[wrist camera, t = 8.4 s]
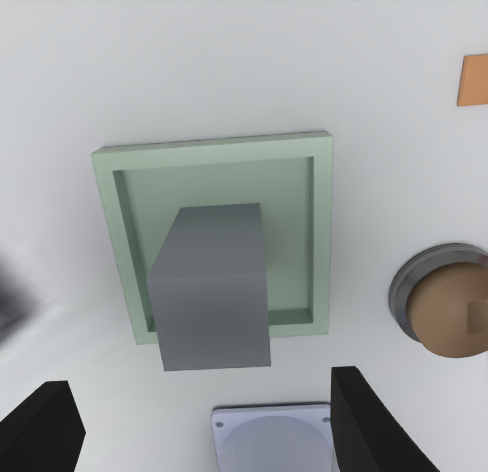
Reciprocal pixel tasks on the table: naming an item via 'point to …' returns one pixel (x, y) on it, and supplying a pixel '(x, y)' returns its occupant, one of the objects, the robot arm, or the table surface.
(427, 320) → the crank
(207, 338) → the block
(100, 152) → the tray
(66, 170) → the table surface
